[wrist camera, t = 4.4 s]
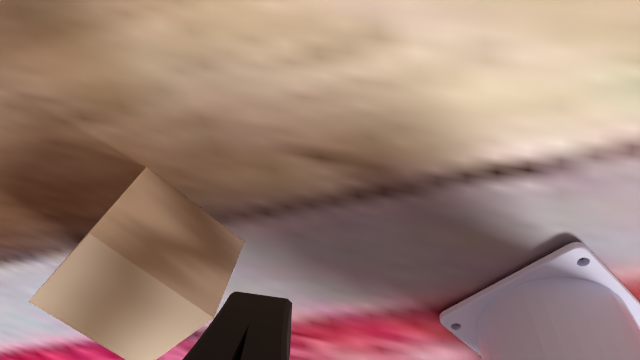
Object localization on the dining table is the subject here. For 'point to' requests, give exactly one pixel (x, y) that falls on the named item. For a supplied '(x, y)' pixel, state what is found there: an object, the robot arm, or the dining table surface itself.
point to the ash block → (144, 272)
